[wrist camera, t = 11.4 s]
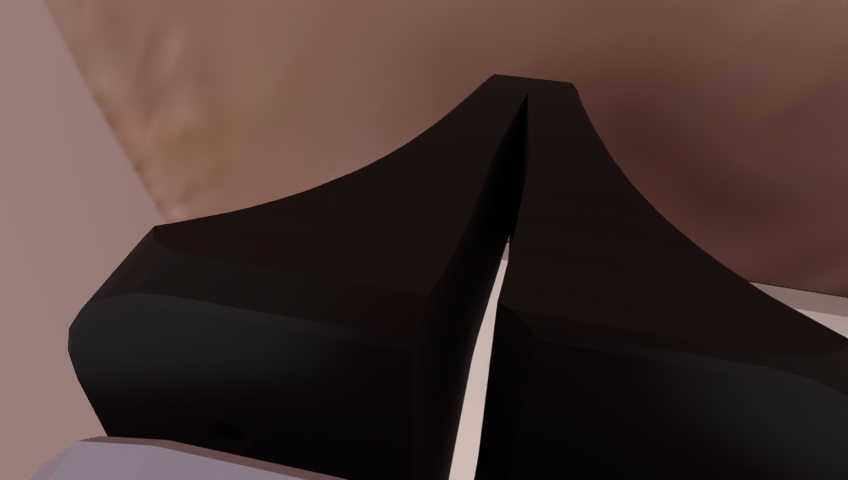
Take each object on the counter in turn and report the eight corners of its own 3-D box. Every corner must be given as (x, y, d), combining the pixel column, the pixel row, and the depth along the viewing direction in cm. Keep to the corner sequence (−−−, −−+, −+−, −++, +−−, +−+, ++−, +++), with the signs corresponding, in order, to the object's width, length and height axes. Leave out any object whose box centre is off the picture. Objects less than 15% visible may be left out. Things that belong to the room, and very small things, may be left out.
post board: (894, 305, 22) (957, 443, 18) (725, 546, 34) (739, 664, 30) (386, 223, 25) (341, 326, 21) (391, 472, 37) (362, 570, 33)
